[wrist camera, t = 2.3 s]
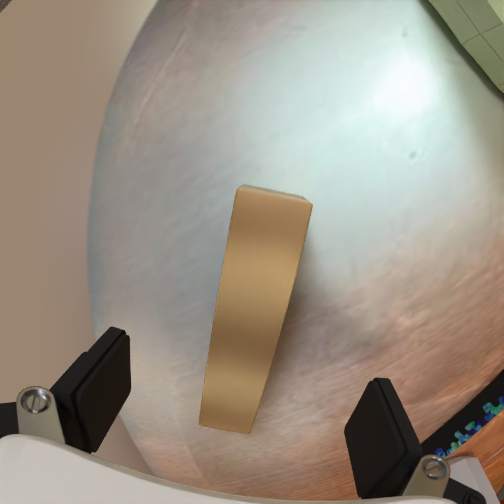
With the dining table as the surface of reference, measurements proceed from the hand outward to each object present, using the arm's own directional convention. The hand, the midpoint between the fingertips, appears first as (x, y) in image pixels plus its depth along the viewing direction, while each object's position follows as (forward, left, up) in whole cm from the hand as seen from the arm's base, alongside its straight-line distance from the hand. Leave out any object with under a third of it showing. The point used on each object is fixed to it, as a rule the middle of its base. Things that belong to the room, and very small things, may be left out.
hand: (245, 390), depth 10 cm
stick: (0, 0, -6) cm, 6 cm away
